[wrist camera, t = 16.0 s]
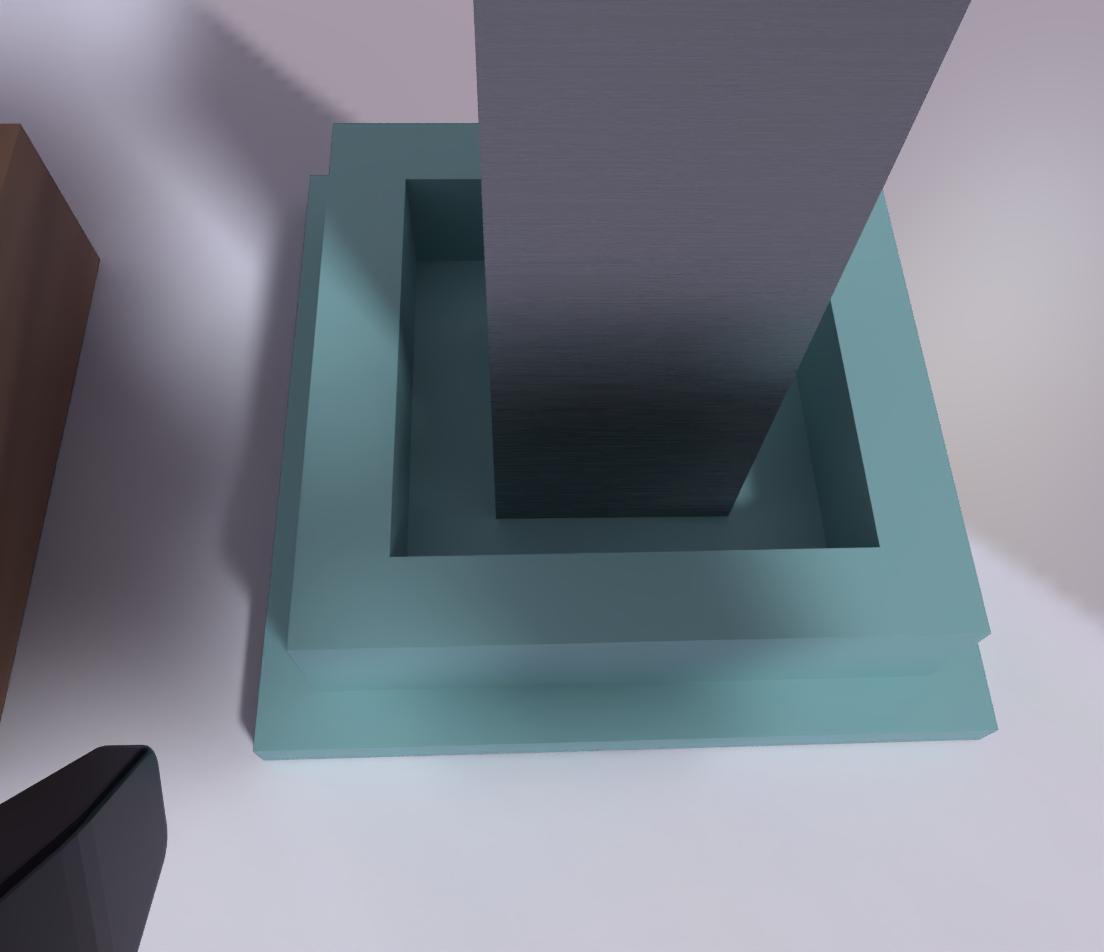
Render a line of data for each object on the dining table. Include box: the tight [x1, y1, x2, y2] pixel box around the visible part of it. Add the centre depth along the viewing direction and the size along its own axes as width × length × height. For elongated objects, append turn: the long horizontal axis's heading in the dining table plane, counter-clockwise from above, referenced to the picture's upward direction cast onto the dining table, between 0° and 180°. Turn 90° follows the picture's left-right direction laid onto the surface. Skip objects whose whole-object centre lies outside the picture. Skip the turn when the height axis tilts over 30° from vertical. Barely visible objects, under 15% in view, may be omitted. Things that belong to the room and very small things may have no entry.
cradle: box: [253, 123, 998, 760], centre depth 19 cm, size 13×13×3 cm
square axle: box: [473, 0, 971, 519], centre depth 14 cm, size 4×4×13 cm
